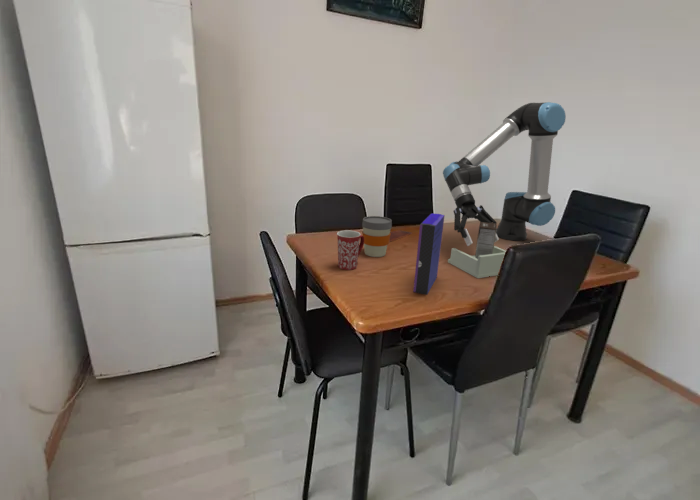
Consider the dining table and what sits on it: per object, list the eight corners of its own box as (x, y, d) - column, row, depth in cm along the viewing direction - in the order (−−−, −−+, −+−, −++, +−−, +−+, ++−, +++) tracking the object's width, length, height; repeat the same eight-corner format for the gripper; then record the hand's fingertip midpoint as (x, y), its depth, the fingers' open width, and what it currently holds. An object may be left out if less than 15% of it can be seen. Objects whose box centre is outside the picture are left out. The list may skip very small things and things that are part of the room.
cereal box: (424, 274, 150) (431, 212, 142) (437, 277, 148) (444, 214, 141) (413, 292, 135) (420, 223, 127) (427, 294, 133) (435, 225, 125)
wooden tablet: (382, 245, 184) (383, 242, 184) (366, 240, 190) (366, 237, 190) (415, 234, 203) (415, 231, 202) (399, 230, 209) (399, 227, 208)
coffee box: (474, 258, 165) (479, 221, 160) (490, 260, 163) (496, 223, 158) (473, 266, 157) (479, 226, 152) (490, 268, 155) (497, 228, 150)
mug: (346, 272, 149) (348, 238, 144) (331, 265, 155) (332, 232, 150) (370, 265, 157) (372, 232, 152) (354, 259, 163) (356, 227, 159)
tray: (485, 257, 172) (488, 238, 169) (517, 272, 157) (521, 251, 154) (447, 262, 164) (450, 242, 161) (477, 278, 149) (481, 257, 146)
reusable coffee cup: (395, 254, 171) (398, 220, 166) (377, 260, 162) (379, 225, 158) (373, 246, 179) (375, 214, 174) (354, 252, 170) (356, 219, 166)
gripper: (480, 201, 174) (500, 243, 166) (434, 204, 164) (453, 250, 156) (491, 191, 168) (512, 235, 160) (443, 194, 158) (464, 241, 150)
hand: (483, 242), depth 158 cm, fingers open, 13 cm apart
